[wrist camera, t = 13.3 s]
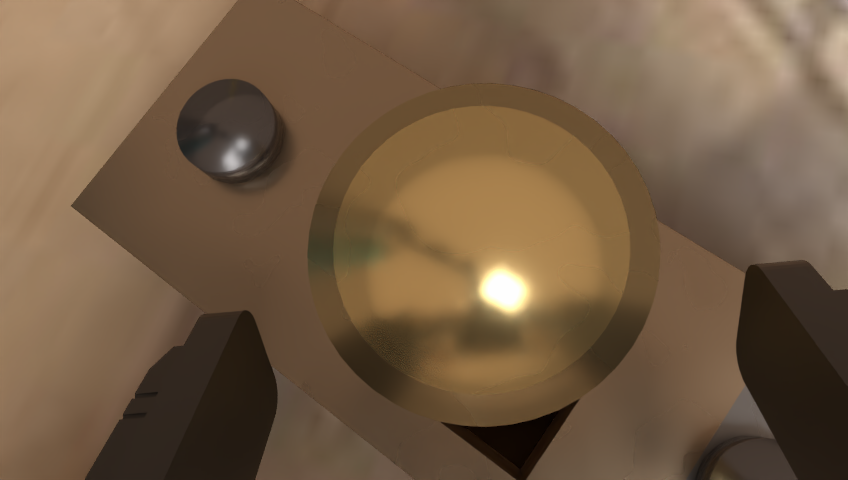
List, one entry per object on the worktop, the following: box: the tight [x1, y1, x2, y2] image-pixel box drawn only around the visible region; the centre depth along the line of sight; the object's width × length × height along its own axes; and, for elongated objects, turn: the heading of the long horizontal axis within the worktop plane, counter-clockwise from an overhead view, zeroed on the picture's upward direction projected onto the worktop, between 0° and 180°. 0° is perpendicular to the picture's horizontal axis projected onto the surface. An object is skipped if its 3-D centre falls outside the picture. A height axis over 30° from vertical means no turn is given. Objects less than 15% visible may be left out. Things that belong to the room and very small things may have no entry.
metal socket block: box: [71, 0, 798, 480], centre depth 18 cm, size 21×9×5 cm, turn 54°
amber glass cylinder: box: [307, 83, 661, 427], centre depth 14 cm, size 5×5×12 cm
